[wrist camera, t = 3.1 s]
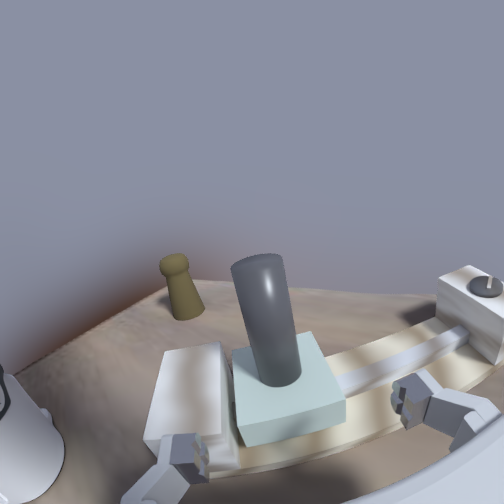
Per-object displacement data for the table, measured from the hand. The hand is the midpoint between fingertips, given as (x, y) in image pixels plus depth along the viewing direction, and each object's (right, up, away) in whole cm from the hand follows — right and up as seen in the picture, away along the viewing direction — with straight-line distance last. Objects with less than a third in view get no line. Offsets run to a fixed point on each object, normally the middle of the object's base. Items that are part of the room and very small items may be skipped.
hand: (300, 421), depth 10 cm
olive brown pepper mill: (-13, -4, +41) cm, 44 cm away
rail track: (+9, -7, +15) cm, 19 cm away
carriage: (+1, -8, +14) cm, 16 cm away
